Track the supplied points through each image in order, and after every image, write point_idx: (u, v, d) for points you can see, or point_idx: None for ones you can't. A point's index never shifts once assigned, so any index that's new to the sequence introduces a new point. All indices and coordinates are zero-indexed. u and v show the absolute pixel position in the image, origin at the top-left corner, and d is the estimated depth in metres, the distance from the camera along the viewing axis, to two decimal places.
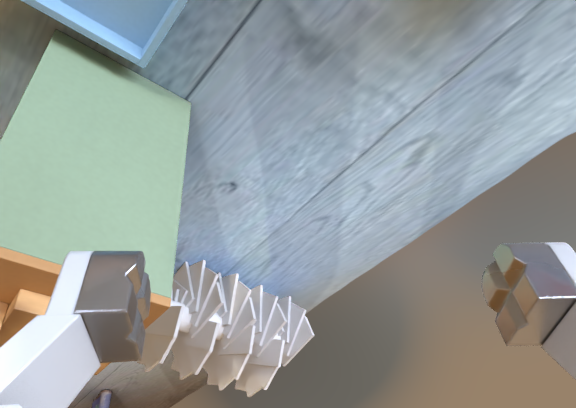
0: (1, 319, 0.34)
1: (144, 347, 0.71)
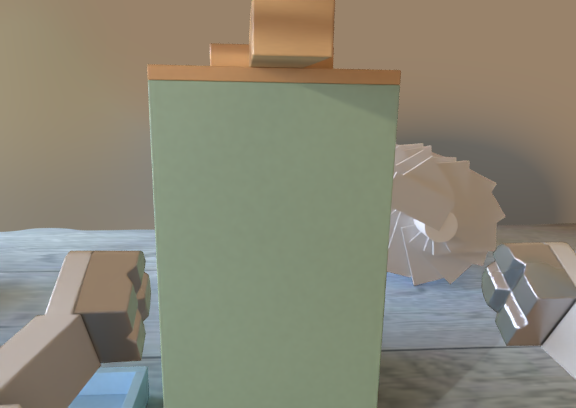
0: (249, 48, 0.30)
1: (479, 196, 0.58)
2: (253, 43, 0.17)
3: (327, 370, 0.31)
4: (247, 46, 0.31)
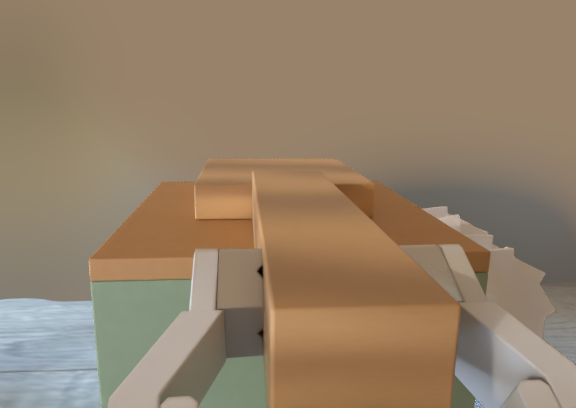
0: (252, 191, 0.21)
1: (524, 288, 0.49)
2: None
3: None
4: (249, 186, 0.21)
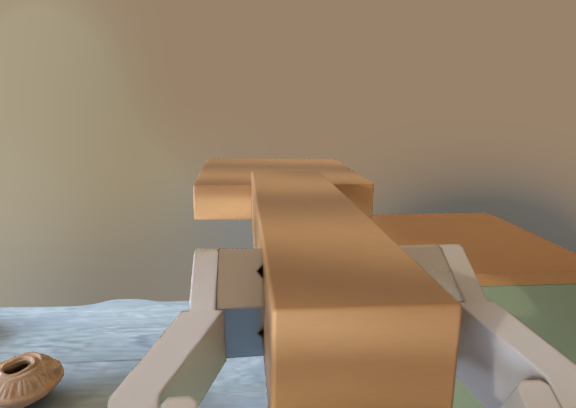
0: (251, 191, 0.21)
1: None
2: None
3: None
4: (248, 186, 0.21)
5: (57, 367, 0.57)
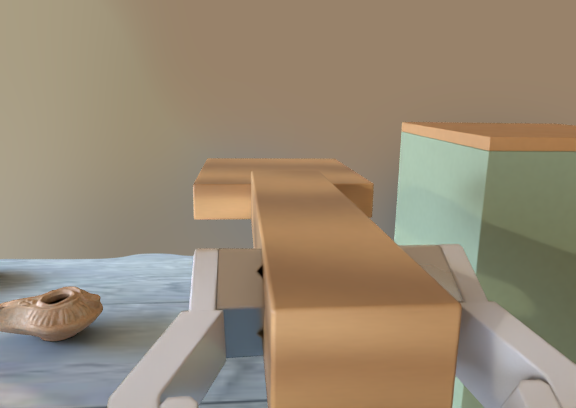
0: (251, 191, 0.21)
1: None
2: None
3: None
4: (248, 186, 0.21)
5: (97, 300, 0.56)
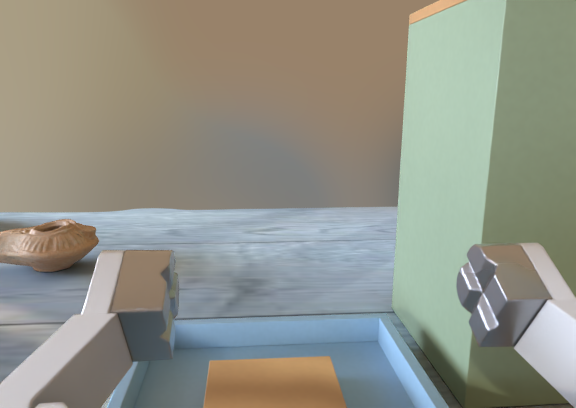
0: None
1: None
2: None
3: None
4: None
5: (92, 231, 0.54)
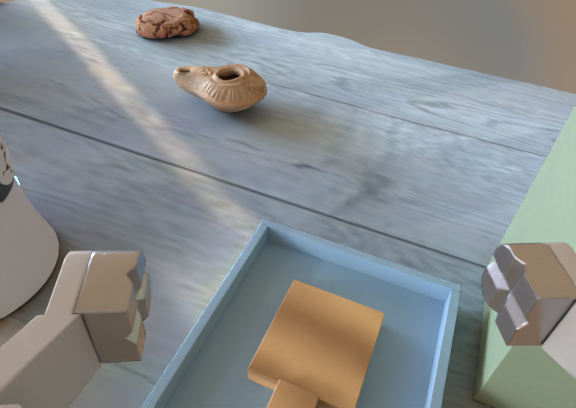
0: None
1: None
2: None
3: None
4: (277, 382, 0.34)
5: (261, 86, 0.61)
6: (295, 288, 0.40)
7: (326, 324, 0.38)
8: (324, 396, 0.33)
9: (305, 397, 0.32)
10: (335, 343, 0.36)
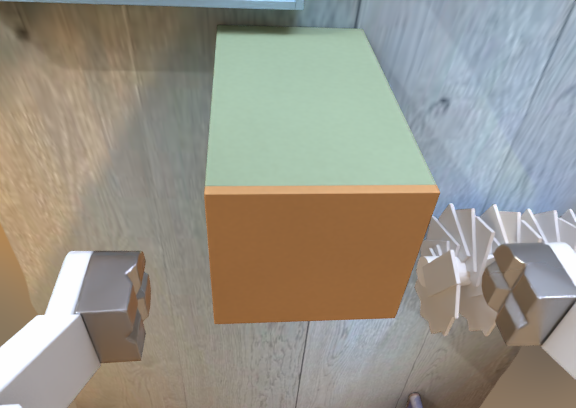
0: None
1: (431, 315, 0.64)
2: None
3: None
4: None
5: None
6: None
7: None
8: None
9: None
10: None
